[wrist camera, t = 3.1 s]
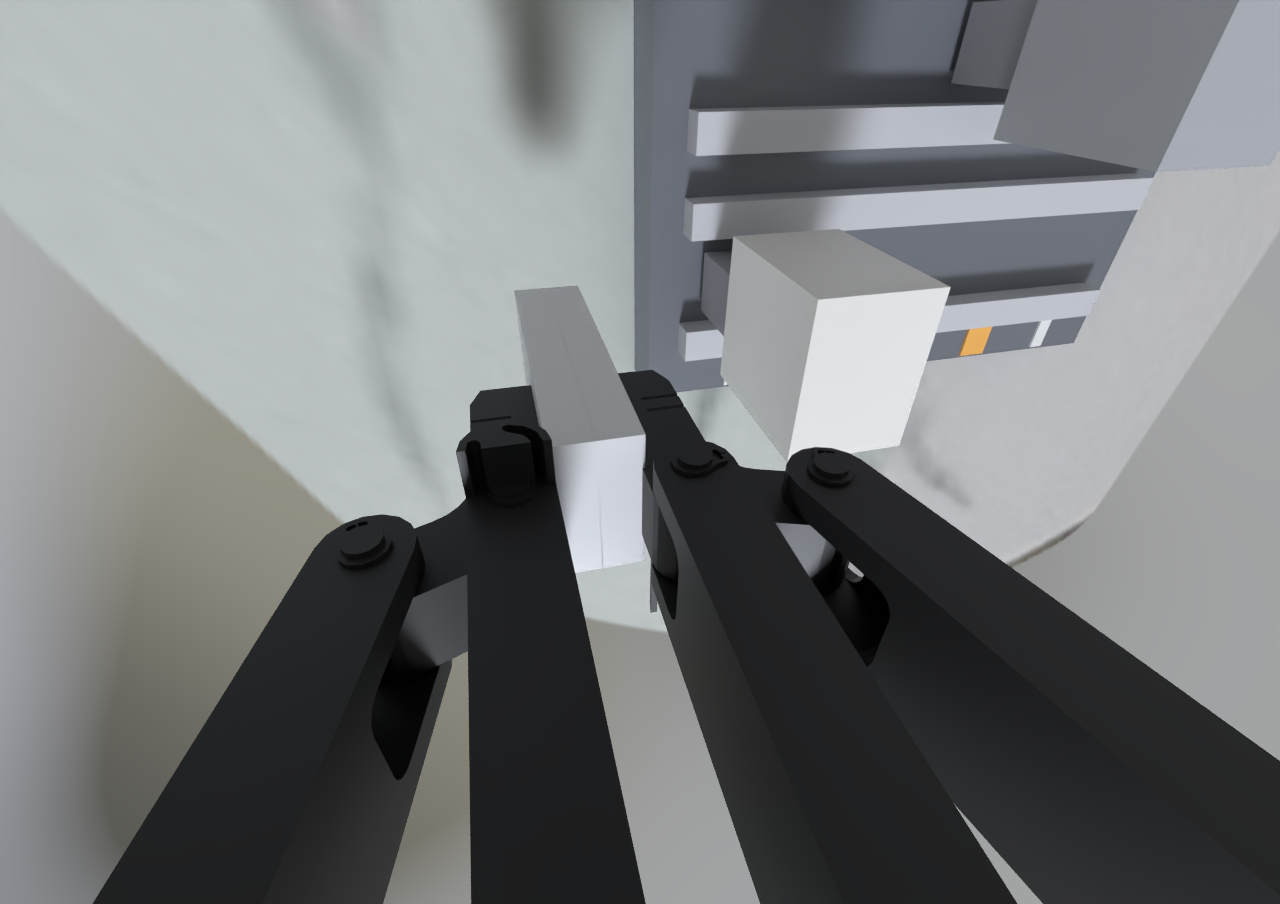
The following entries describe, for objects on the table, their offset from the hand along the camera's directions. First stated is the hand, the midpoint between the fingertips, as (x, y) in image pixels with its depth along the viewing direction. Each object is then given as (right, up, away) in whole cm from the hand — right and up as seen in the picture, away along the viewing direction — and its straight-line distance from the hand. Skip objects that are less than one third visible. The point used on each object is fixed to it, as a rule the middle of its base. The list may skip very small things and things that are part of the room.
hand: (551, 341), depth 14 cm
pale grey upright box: (+12, +9, +2) cm, 15 cm away
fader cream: (+6, +3, +4) cm, 7 cm away
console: (+11, +7, +5) cm, 14 cm away
